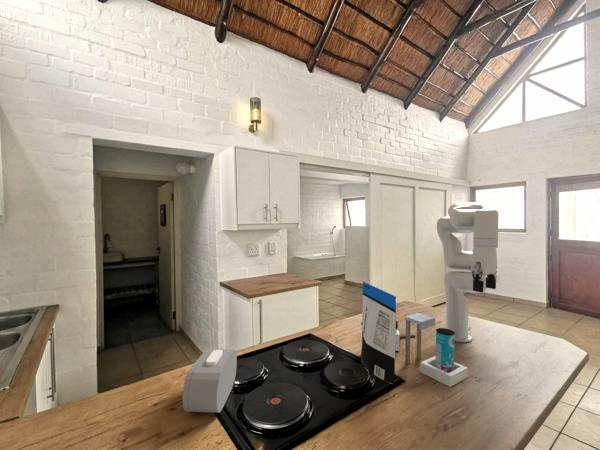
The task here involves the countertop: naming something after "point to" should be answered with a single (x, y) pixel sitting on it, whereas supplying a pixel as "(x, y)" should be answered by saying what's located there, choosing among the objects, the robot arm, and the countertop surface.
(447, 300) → the robot arm
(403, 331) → the dish towel
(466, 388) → the countertop surface
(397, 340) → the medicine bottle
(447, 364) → the beverage can
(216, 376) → the alarm clock
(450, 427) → the countertop surface
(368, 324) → the protein powder
